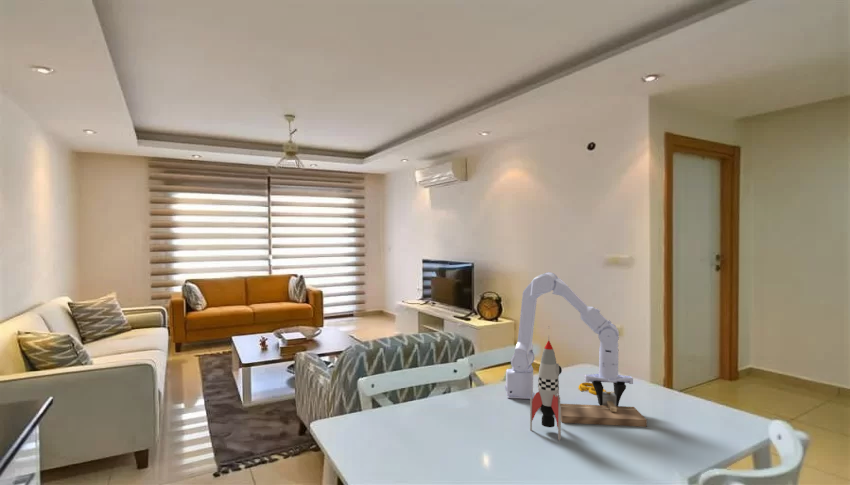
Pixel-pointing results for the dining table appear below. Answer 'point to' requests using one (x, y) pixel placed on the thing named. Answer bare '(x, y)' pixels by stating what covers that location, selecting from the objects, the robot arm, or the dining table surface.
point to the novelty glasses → (588, 388)
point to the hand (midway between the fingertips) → (608, 404)
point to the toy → (547, 391)
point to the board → (601, 415)
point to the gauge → (609, 400)
